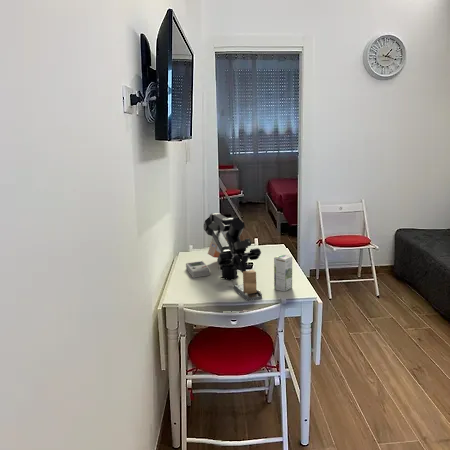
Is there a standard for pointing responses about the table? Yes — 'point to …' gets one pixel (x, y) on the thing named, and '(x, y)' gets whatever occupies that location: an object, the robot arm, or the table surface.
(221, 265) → the robot arm
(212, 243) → the cracker box
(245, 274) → the brown rectangular block
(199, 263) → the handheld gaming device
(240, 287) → the rail
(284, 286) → the syrup box
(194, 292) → the table surface
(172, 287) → the table surface
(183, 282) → the table surface
